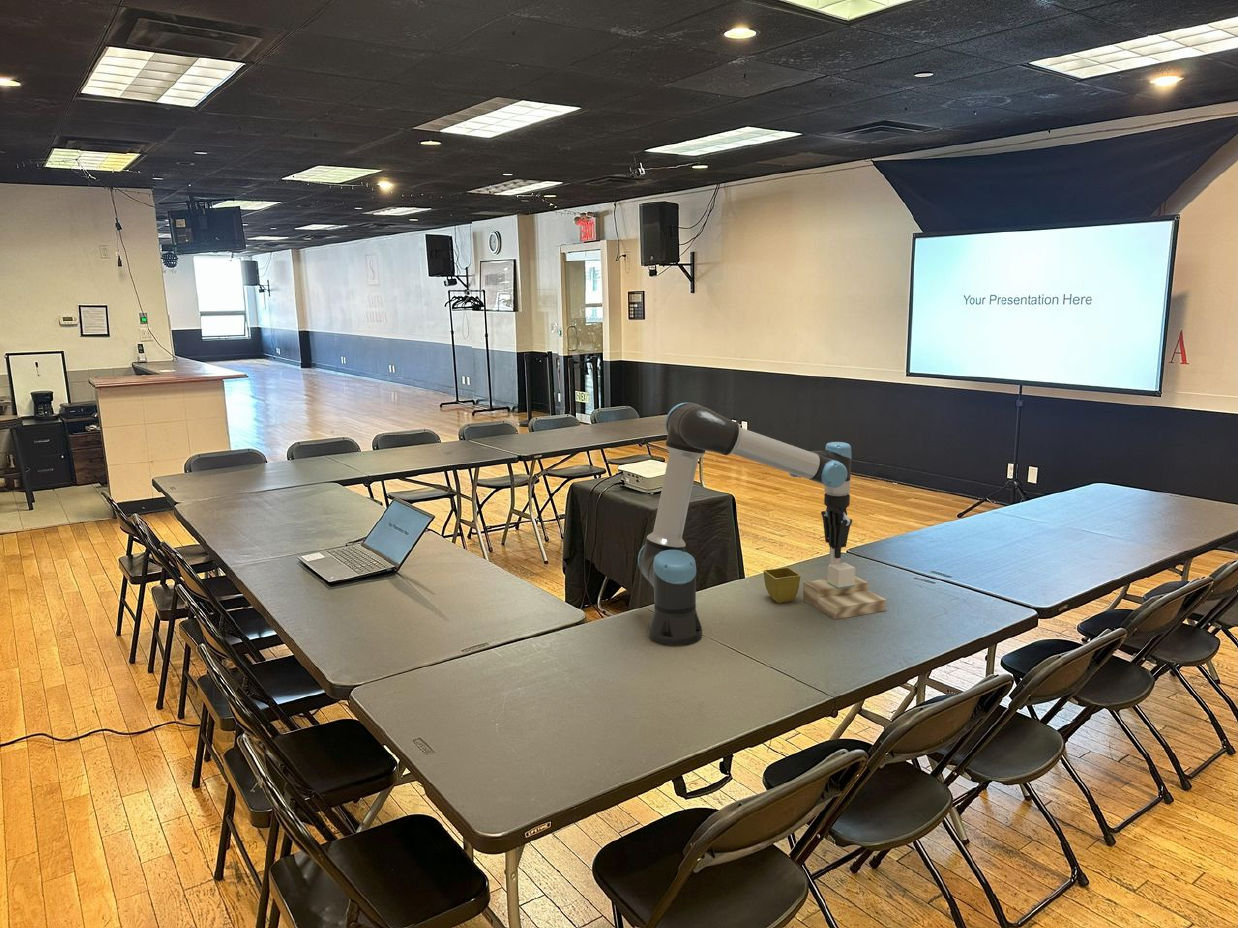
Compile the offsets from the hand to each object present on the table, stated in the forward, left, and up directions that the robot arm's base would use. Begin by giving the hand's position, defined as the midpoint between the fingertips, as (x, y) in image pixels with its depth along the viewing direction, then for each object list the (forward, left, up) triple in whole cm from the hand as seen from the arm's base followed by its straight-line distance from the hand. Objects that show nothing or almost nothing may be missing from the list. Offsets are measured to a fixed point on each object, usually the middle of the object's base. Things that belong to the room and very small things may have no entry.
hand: (834, 567), depth 248 cm
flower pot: (-15, +6, -11) cm, 20 cm away
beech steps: (0, -5, -11) cm, 12 cm away
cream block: (0, -3, -5) cm, 6 cm away
